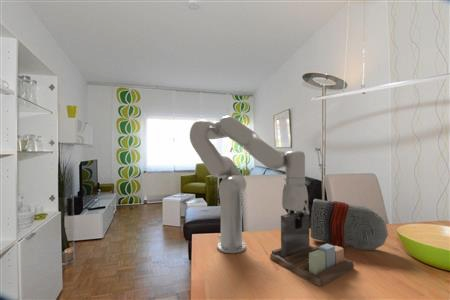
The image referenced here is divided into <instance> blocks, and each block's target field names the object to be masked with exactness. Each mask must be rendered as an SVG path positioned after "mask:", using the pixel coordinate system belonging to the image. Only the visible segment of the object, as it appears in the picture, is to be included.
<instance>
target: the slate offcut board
mask: <svg viewBox="0 0 450 300" xmlns="http://www.w3.org/2000/svg"><path fill="white" fill-rule="evenodd" d="M318 247H319V251H322V252H324V253H325V261H326V270H327V269H329V268H331V267H333V266H335V246H333V245H331V243H324V244H322V245H319V246H318Z"/></svg>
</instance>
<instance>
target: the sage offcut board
mask: <svg viewBox="0 0 450 300" xmlns="http://www.w3.org/2000/svg"><path fill="white" fill-rule="evenodd" d="M308 262H309V272H310V273H312V274H314V275H316V276H317V274H318V273H320V272H323V271H325V270H326V261H325V253H324V252H322V251H319V250H316V251H313V252H311V253H309V259H308Z"/></svg>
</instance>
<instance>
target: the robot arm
mask: <svg viewBox="0 0 450 300" xmlns="http://www.w3.org/2000/svg"><path fill="white" fill-rule="evenodd" d="M224 138H229V139H230V140H231V141H233V142H234V143H235V144H237V145H238V146H240V147H241V148H242V149H243V150H245V152H246V153H248V154H249V155H250V156H252V158H254V159H255V160H257V162H260V164H261V165H264V166H265V167H266V168H268V169H269V170H273V171H276V170H279V169H281V168H283V169H284V168H285V178H284V181H285V183H284V185H283V188H282V189H283V190H282V197H281V199H282V200H281V206H282V209H283V210H285V211H286V214H291V213H295V212H296V216H297V219H295V226H296V229H299V228H302V218H303V217H304V216H305V215H308V214H309V215H311V214H310V210H309V194H308V188H307V185H306V155H305V152H304V151H299V150H298V151H297V150H292V151H290V150H289V151H282V150H276V149H275V148H274V147H272V146H271V145H269V144H268V143H267V142H266V141H264V140H263V139H261V138H260V136H259V135H258V134H257V133H256V132H255V131H253V130H252V129H251V128H249V127H248V126H246V125H245V124H243V122H241V121H240V120H239V119H238V118H236V117H234V116H232V115H226V116H223V117H221V119H220V120H219V121H214V122H213V121H211V120H210V121H209V120H207V119H198V120H196V121H195V122H194V123H193V124H192V125H191V128H190V130H189V141H190V144H191V145H192V148H193V149H194V151H195V152H196V153H197V155H198V158H200V160H201V161H202V163H203V164H204V167H206V169H207V171H208V172H209V174H210V175H211V176H212V177H215V178H221V179H222V180H221V181H220V183H219V186H218V195H219V196H218V197H219V203H220V204H219V206H220V210H219V211H220V234H218V238H219V240H220V241H219V242H218V243H217V250H218V251H219V252H221V253H225V254H239V253H242V252H243V251H245V250H246V249H247V247H246V243H245V242H244V241H243V206H242V198H241V197H242V196H241V194H242V193H243V192H244V191H245V190H246V188H247V180H246V179H245V177H244V175H243V174H242V172H241V171H240V169H239V168H238V166H237V165H236V164H235V161H233V160H232V159H231V158H230V157H228V156H227V155H226V156H224V155H222V154H221V153H220V152H219V151H218V149H217V147H216V146H215V145H214V144H213V143H212V141H211V140H216V139H224ZM303 211H304V212H303Z"/></svg>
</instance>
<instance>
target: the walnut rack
mask: <svg viewBox="0 0 450 300" xmlns="http://www.w3.org/2000/svg"><path fill="white" fill-rule="evenodd" d="M316 250H319V246H313V245H311V244H310V249H308V250H305V251H302V252H299V253H297V254H294V255H291V256H288V257H286V258H283V257H281V247H279V248H276V249H273V250H271V253H270V255H269V256H270V257H269V258H270V260H272V261H274V262H275V263H277V264H278V265H281V266H282V267H284V268H286V269H288V270H289V271H291V272H293V273H294V274H296V275H299V276H300V277H302V278H304V279H305V280H307V281H308V282H311V283H313V284H314V285H316V286H317V287H322V286H323V285H326V284H328V283H329V282H331V281H333V280H335V279H337V278H339V277H341V276H342V275H345V274H347V273H349V272H351V271H352V270H354V269H355V263H354V262H353V261H354V260H351V259H345V258H344V262H342V263H340V264H337V265H335V266H333V267H331V268H329V269H327V270H325V271H323V272H320V273H318V274H317V276H316V275H314V274H312V273H310V272H309V253H311V252H313V251H316ZM306 261H308V262H306ZM302 262H303V263H304V262H306V263H304V264H300V263H302ZM298 264H300V266H299V265H298Z"/></svg>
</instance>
